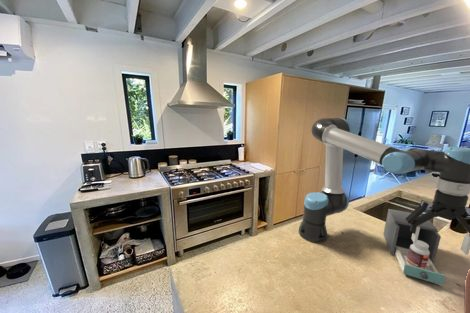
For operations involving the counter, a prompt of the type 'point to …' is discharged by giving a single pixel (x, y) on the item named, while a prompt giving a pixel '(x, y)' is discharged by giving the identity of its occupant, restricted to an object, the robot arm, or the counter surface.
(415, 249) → the pill bottle
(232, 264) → the counter surface
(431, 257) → the housing
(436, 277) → the tray
